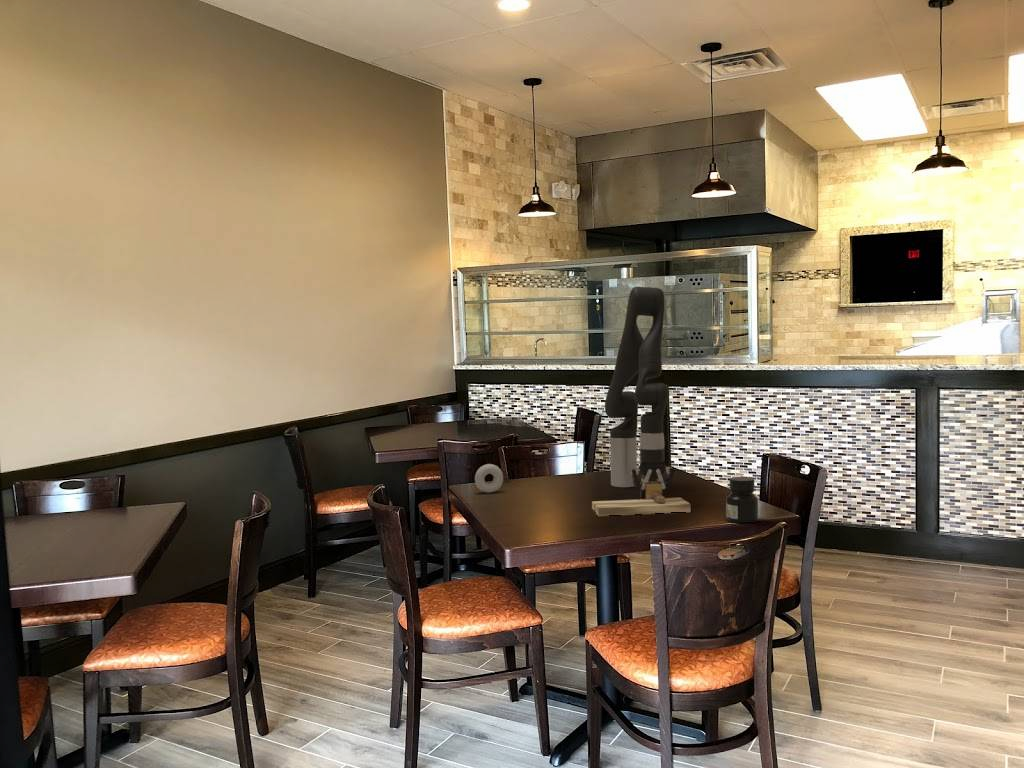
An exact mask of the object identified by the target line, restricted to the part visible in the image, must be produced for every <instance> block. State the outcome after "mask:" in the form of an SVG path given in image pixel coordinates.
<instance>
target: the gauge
mask: <svg viewBox="0 0 1024 768" xmlns="http://www.w3.org/2000/svg"><path fill="white" fill-rule="evenodd" d="M645 490H646V499H654V500H655V501H656V502H658V503H665V498H666V496H665V497H663V496H662V483H660V482H658V481H648V483H647V484H646V487H645Z"/></svg>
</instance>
